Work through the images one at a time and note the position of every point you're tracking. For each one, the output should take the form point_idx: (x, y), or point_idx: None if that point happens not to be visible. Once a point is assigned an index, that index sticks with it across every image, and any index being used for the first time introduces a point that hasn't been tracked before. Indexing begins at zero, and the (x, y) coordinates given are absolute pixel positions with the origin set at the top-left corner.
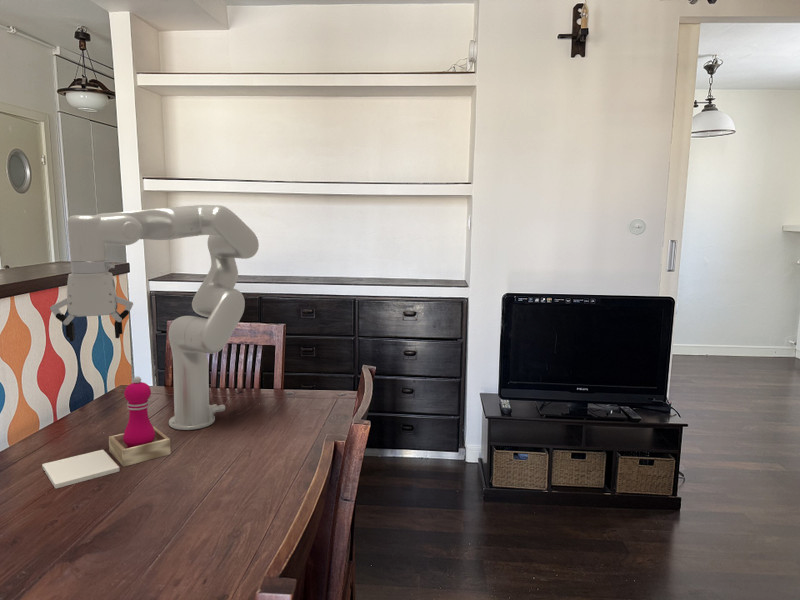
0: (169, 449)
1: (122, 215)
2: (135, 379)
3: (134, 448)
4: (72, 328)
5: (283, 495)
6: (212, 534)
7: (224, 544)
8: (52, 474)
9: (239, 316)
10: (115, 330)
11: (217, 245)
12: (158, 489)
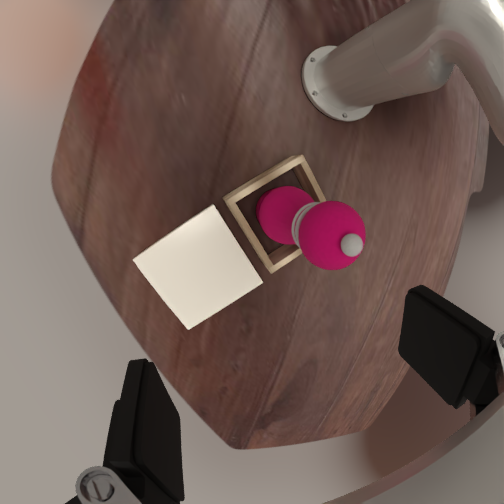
0: None
1: None
2: (351, 255)
3: (287, 262)
4: (176, 473)
5: None
6: (361, 392)
7: (366, 400)
8: (168, 299)
9: None
10: (426, 377)
11: None
12: (320, 330)
